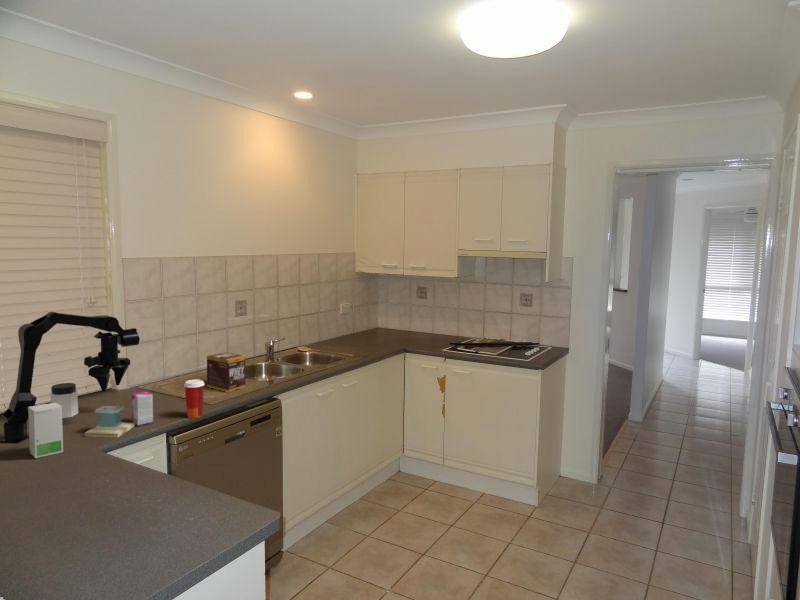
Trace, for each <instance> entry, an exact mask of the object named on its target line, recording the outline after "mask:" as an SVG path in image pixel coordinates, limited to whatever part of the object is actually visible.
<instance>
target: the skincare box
mask: <svg viewBox="0 0 800 600" xmlns="http://www.w3.org/2000/svg"><path fill="white" fill-rule="evenodd" d="M28 414H29V417H28V435H29V438H28V439H29V440H28V442H29V454H30V455H31V456H32V457H33V458H35V459H38V458H43V457H47V456H52V455H57V454H60V453H61V454H62V453H64V432H63V418H62V406H61V405H59V404H57V403H51V402H50V403H43V404H37V405H35V406H30V407H28Z"/></svg>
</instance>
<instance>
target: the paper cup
mask: <svg viewBox="0 0 800 600" xmlns="http://www.w3.org/2000/svg"><path fill="white" fill-rule="evenodd" d="M205 385H206V384H205V382H204V380H202V379H189V380H185V382H184V384H183V387H184V392H185V395H184V396H185V405H186V415H187V418H188V419H199V418H202V417H203V414H204V409H203V408H204V392H205V391H204V388H205V387H204V386H205Z"/></svg>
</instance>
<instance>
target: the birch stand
mask: <svg viewBox="0 0 800 600" xmlns="http://www.w3.org/2000/svg"><path fill="white" fill-rule="evenodd" d="M123 422H124V421H123ZM135 427H136V423H132V422H124V426H123V427H121V428H120V429H118V430H96V426H94V427H92V428H91V429H89V430H87V431H85V432H84V434H83V437H92V438H93V437H94V438H95V437H96V438H101V437H102V438H119V437H121V436H122V435H124V434H125V433H127V432H129V431H130V430H131V428H132V429H133V428H135Z"/></svg>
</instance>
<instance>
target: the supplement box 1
mask: <svg viewBox="0 0 800 600" xmlns="http://www.w3.org/2000/svg"><path fill="white" fill-rule="evenodd" d="M153 398H154V397H153V394H152V393H150V392H149V391H141V392H134V393H131V423H136V426H137V427H138V426H139V427H143V426H146V425H147V426H148V425H151V424H153V423H154V406H153V405H154V403H153V402H154V401H153ZM136 426H135V427H136Z"/></svg>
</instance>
